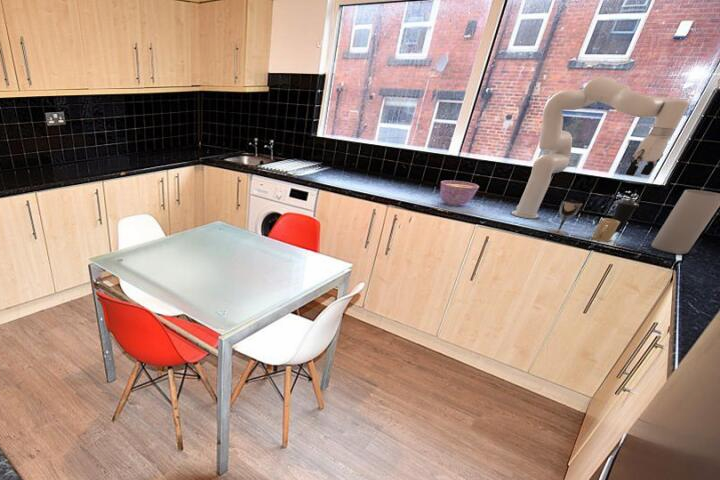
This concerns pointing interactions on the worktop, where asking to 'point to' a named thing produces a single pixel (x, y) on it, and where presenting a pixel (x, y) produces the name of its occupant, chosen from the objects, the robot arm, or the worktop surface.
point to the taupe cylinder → (686, 221)
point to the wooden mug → (605, 229)
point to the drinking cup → (624, 211)
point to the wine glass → (567, 212)
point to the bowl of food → (457, 192)
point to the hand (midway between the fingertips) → (636, 174)
